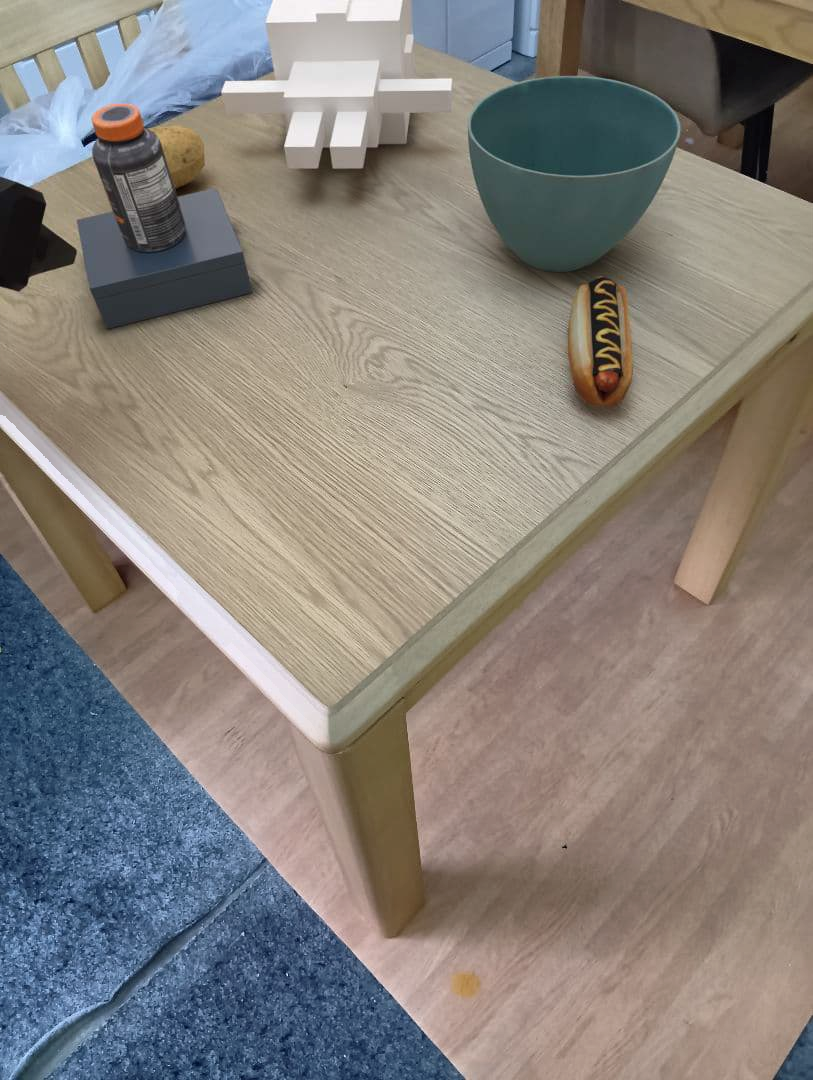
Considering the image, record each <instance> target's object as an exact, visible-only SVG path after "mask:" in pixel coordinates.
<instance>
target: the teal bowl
mask: <svg viewBox="0 0 813 1080" xmlns="http://www.w3.org/2000/svg"><path fill="white" fill-rule="evenodd" d="M681 127H682V125H681V121H680V118H679V116H678V115H677V113H676V112H675V110H674V109H673V108H672V107H671V106H670V105H669V104H668V103H667V102H666V101H665V100H663V99H662V98H660V97H659V96H658V95H656V94H655V93H652V92H651V91H648V90H647V89H644V88H641V87H639V86H636V85H633V84H630V83H627V82H623V81H619V80H614V79H609V78H604V77H596V76H584V75H556V76H555V75H554V76H546V77H544V76H543V77H537V78H531V79H526V80H522V81H518V82H516V83H511V84H509V85H506V86H504V87H501V88H499V89H497V90H495V91H493V92H491V93H489V94H488V95H486V96H484V98H482V99H481V100H480V101H478V103H476V105H475V106H474V107H473V108H472V110H471V112H470V114H469V116H468V119H467V137H468V138H467V143H468V151H469V159H470V165H471V169H472V174H473V179H474V182H475V186H476V189H477V193H478V195H479V198H480V200H481V203H482V206H483V208H484V210H485V212H486V214H487V217H488V219H489V220H490V223H491V224H492V226H493V228H494V229H495V231H496V233H497V234H498V235H499V236H500V238H501V239H502V240H503V241H504V243H505V244H506V246H507V247H508V248H509V249H510V250H511V251H512V252H513V253H514V255H515V256H517V258H519V259H520V260H521V261H522V262H523V263H525V264H527V265H529V266H531V267H533V268H535V269H538V270H541V271H542V270H543V271H547V272H554V273H555V272H556V273H561V272H562V273H565V272H571V271H572V272H573V271H577V270H581V269H583V268H586V267H588V266H589V265H592V264H593V263H595V262H597V260H599V259H600V258H602V257H603V256H604V255H606V254H607V253H608V252H609V251H610V250H612V249H613V248H614V247H616V245H618V244H619V243H620V242H621V241H622V240H623V239H624V238H625V237H626V236H627V235H628V234H629V233H630V232H631V231H632V230H633V228H634V227H635V226H636V225H637V223H639V221H640V219H642V217H643V215H645V213H646V212H647V209H648V208H649V207H650V205H651V203H652V202H653V200H654V199H655V197H656V196H657V194H658V192H659V190H660V188H661V186H662V184H663V183H664V180H665V178H666V175H667V173H668V172H669V169H670V166H671V164H672V162H673V159H674V156H675V153H676V150H677V148H678V144H679V140H680V136H681V131H682V130H681V129H682V128H681Z"/></svg>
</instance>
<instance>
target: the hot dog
mask: <svg viewBox="0 0 813 1080" xmlns="http://www.w3.org/2000/svg"><path fill="white" fill-rule="evenodd" d="M628 304H629V303H628V296H627V292H626V288H625V286H623V285H620V284H618V283H616V282H615V281H614V280H613V279H612V278H609V277H607V276H605V275H601V276H598V277H596V278H594V279H593V280H591V281H589V282H587V283H585V284H581V285H580V286H579V287H578V289H577V290H576V292H575V294H574V296H573V297H572V302H571V308H570V315H569V320H568V326H567V357H568V363H569V367H570V372H571V377H572V382H573V386H574V390H575V392H576V393H577V394H578V395H579V396H580V397H581V398H582V400H583V401H584V402H585V404H586V405H589V406H592V407H597V408H610V407H616V406H618V405H619V404H620V403H621V402H622V401H623V400H624V398H625V397H626V395H627V393H628V391H629V388H630V387H631V386H632V385H631V384H632V380H633V371H634V370H633V347H632V346H633V345H632V336H631V326H630V325H631V324H630V316H629V306H628Z"/></svg>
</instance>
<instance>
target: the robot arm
mask: <svg viewBox="0 0 813 1080" xmlns="http://www.w3.org/2000/svg"><path fill="white" fill-rule="evenodd" d="M46 207H47V202H46V200H45V196H44V193H43V192H42V191H39V190H37V189H35V188H32V187H29V186H27V185H25V184H23V183H21V182H19V181H15V180H12V179H9V178H6V177H3V176H0V288H3V289H8V290H11V291H15V292H18V293H20V292H21V291H22V290H23V289H25V288H26V287H27V286H28V284H29V279H30V278H32V277H34V276H37V275H41V274H44V273H47V272H50V271H54V270H57V269H62V268H66V267H68V266H72V265H74V264H75V262H76V257H77V253H78V249H76V247H74V246H73V245H71V243H69V242H68V241H66V240H65V239H63V238H62V237H61V236H60V235H58V234H57V233H55V232H54V231H53V230H51V229H50V228H48V227H47V226H46V225H45V224H44V223H43V220H44V216H45V212H46Z"/></svg>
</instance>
